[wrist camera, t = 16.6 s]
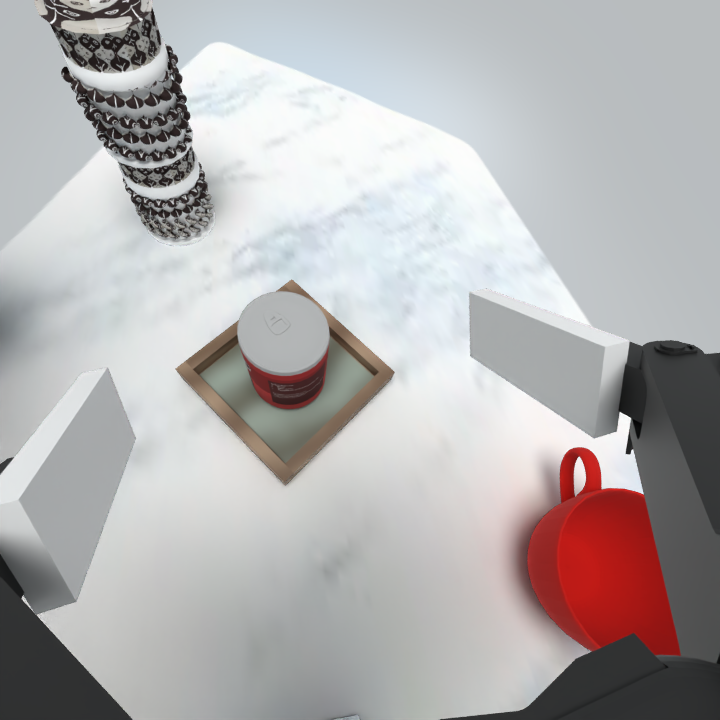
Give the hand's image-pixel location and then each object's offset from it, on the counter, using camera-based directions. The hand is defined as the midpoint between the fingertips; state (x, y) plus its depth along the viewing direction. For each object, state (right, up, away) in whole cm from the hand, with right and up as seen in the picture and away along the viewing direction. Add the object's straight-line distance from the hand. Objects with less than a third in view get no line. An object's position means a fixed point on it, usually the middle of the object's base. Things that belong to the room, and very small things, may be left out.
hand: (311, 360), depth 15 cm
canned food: (-6, -2, +30) cm, 31 cm away
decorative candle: (-21, +18, +38) cm, 47 cm away
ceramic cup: (+22, -19, +27) cm, 40 cm away
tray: (-6, -2, +31) cm, 31 cm away
